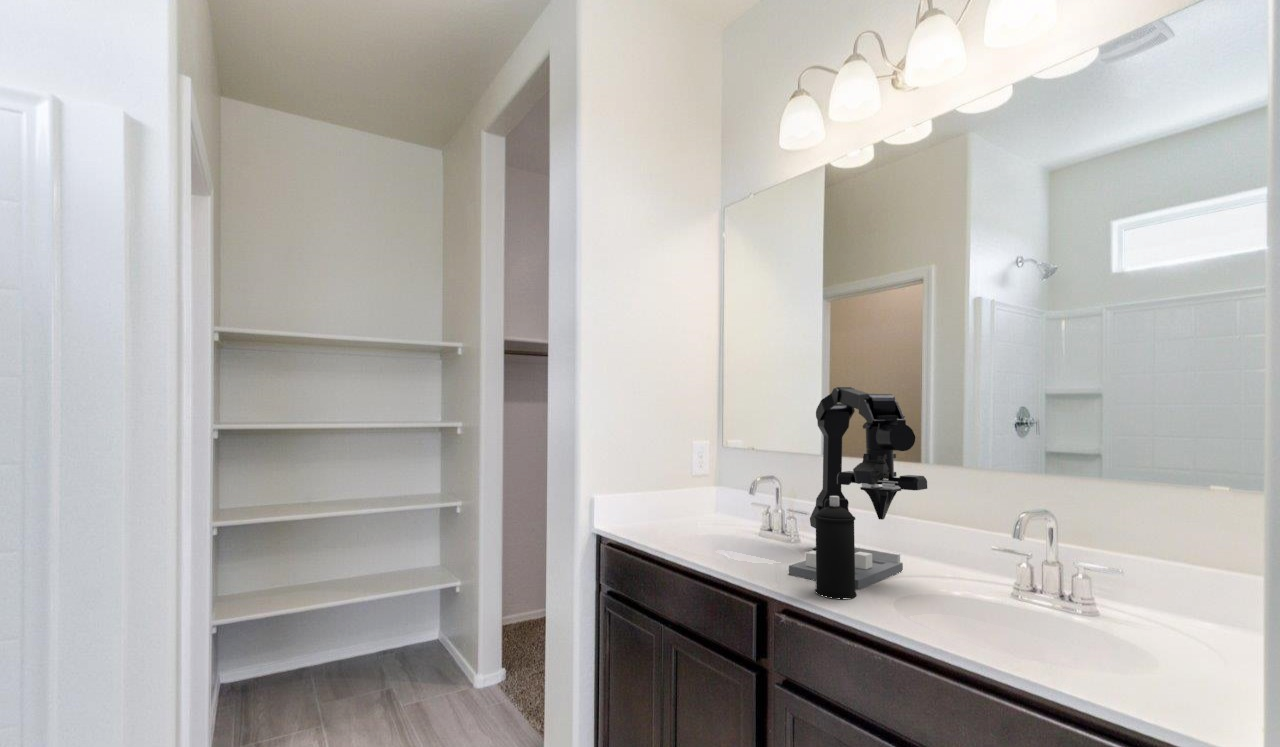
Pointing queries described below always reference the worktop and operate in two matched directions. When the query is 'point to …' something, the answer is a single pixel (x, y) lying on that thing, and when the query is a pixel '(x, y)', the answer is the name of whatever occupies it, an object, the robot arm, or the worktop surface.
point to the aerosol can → (835, 551)
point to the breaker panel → (880, 570)
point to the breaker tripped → (863, 560)
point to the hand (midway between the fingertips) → (881, 519)
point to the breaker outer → (811, 559)
